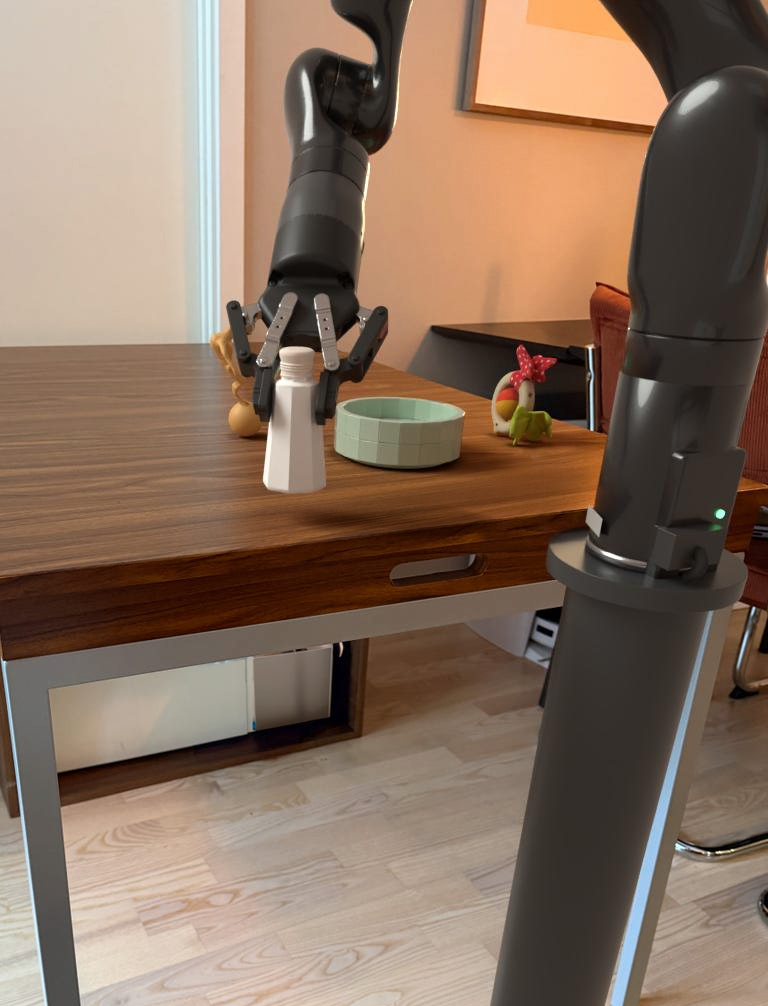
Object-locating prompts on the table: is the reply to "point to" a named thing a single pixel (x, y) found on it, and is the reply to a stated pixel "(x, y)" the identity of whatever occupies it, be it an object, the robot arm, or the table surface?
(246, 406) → the figurine
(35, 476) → the table surface
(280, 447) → the pepper shaker
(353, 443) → the bowl
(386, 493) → the table surface
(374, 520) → the table surface
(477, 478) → the table surface
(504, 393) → the bird rattle
